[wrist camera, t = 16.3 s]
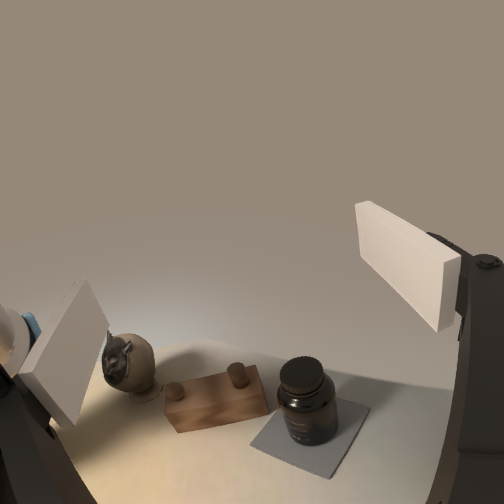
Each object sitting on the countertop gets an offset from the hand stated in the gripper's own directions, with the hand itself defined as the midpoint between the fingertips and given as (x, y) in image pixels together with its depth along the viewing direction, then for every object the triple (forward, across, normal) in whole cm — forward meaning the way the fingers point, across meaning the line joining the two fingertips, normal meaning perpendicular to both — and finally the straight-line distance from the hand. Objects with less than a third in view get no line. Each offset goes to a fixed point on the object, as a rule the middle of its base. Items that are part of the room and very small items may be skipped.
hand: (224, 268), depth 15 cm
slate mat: (+12, +4, -32) cm, 34 cm away
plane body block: (+19, -8, -32) cm, 38 cm away
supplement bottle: (+12, +4, -32) cm, 34 cm away
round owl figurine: (+28, -23, -32) cm, 48 cm away
